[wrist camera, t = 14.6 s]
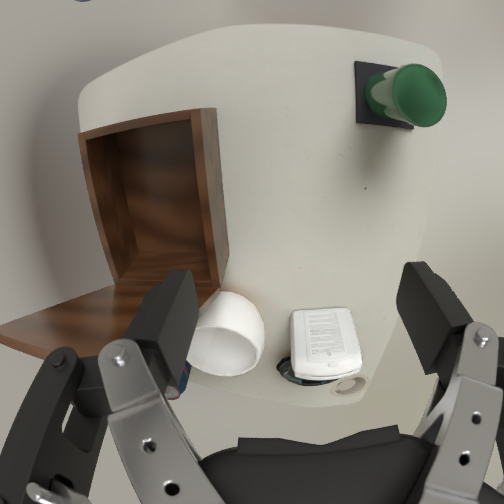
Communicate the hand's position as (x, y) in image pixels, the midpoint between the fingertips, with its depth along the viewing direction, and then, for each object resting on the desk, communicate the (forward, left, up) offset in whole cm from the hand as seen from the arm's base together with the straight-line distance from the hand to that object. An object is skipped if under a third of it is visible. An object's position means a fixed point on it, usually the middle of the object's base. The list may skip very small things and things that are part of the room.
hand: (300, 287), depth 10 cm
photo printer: (+25, +6, -26) cm, 37 cm away
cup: (+23, -9, -26) cm, 36 cm away
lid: (+9, -15, -8) cm, 19 cm away
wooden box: (+3, -15, -26) cm, 30 cm away
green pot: (-9, +13, -26) cm, 30 cm away
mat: (-9, +13, -26) cm, 30 cm away
